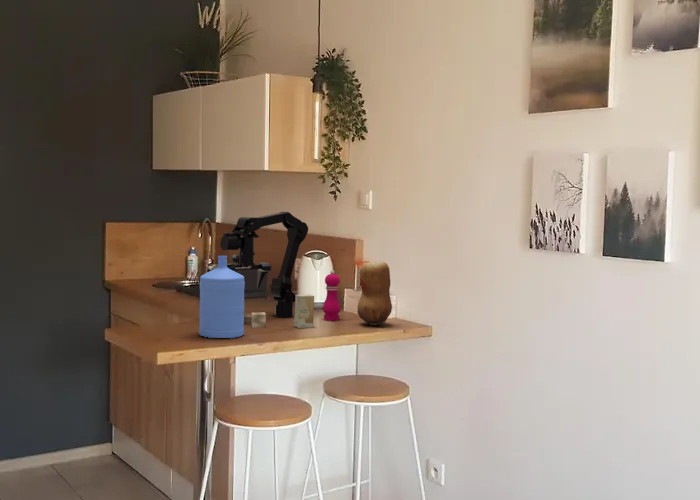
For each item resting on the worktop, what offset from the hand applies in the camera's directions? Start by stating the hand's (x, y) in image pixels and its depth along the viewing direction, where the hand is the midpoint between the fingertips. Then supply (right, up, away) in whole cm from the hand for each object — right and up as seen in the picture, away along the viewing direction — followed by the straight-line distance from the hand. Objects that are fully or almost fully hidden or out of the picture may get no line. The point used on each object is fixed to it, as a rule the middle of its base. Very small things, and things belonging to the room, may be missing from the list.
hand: (246, 289), depth 308 cm
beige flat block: (0, -13, -4) cm, 14 cm away
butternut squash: (+50, -14, -2) cm, 52 cm away
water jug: (-5, -15, -31) cm, 34 cm away
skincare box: (+23, -14, -10) cm, 29 cm away
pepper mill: (+33, -13, +8) cm, 36 cm away
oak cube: (+6, -14, -11) cm, 19 cm away
